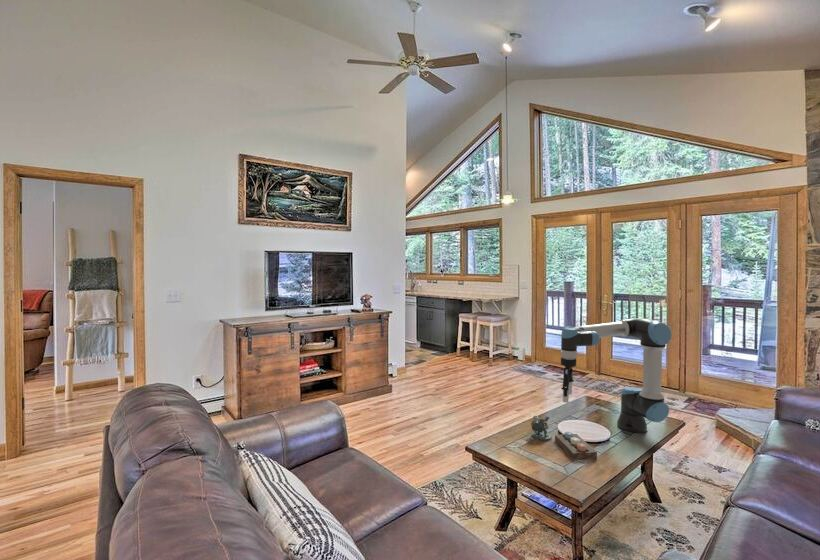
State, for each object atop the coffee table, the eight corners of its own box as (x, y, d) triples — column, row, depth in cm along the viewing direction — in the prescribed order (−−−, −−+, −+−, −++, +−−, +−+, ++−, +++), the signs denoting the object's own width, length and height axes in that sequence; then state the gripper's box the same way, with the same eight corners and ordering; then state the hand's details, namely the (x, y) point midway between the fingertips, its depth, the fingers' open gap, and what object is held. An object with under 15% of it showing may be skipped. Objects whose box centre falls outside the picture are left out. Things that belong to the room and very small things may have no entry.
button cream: (576, 442, 209) (577, 437, 209) (581, 446, 204) (581, 441, 204) (568, 443, 208) (569, 437, 208) (573, 447, 204) (573, 441, 204)
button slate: (570, 437, 215) (570, 431, 215) (574, 440, 211) (575, 435, 211) (562, 437, 215) (563, 431, 215) (566, 441, 211) (567, 435, 210)
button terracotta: (583, 448, 202) (583, 443, 202) (588, 453, 198) (588, 447, 198) (575, 449, 202) (575, 443, 202) (579, 453, 198) (579, 447, 197)
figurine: (552, 441, 215) (553, 420, 214) (532, 440, 217) (532, 418, 217) (550, 433, 226) (550, 412, 225) (530, 431, 228) (530, 411, 227)
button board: (576, 440, 217) (576, 433, 217) (596, 459, 197) (597, 452, 197) (554, 441, 216) (555, 434, 216) (573, 460, 196) (573, 453, 196)
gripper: (564, 351, 220) (563, 389, 222) (557, 362, 198) (555, 404, 200) (579, 353, 217) (577, 392, 218) (573, 364, 195) (571, 407, 196)
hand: (567, 398), depth 209 cm, fingers open, 13 cm apart
